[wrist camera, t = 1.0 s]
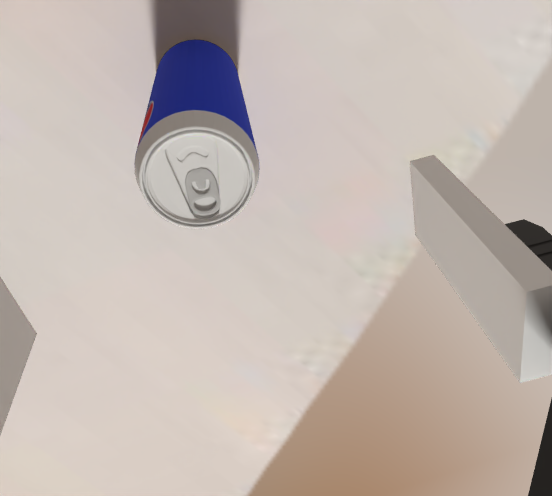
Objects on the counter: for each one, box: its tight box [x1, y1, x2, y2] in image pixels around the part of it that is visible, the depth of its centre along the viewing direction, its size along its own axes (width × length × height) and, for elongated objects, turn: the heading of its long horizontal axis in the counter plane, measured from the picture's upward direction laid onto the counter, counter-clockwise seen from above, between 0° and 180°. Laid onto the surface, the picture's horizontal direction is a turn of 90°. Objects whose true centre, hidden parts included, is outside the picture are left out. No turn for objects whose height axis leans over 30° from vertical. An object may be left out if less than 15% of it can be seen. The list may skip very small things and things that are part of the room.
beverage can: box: [135, 40, 259, 229], centre depth 27 cm, size 5×5×15 cm
